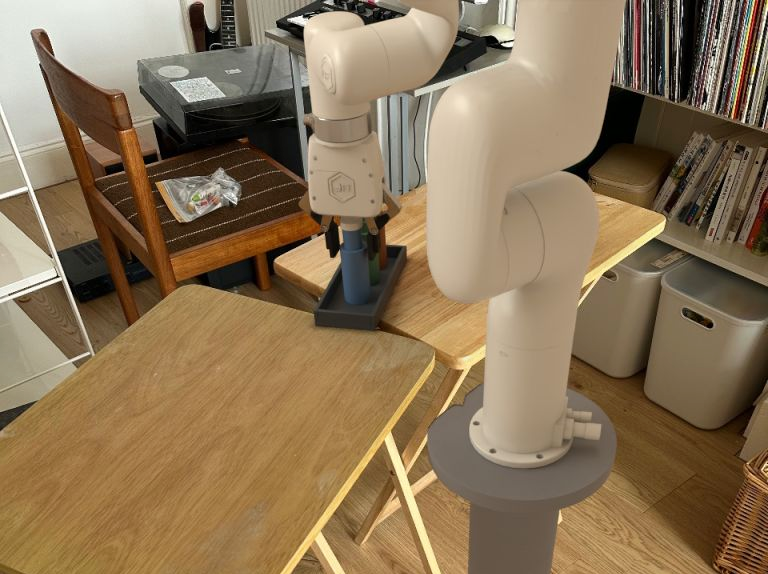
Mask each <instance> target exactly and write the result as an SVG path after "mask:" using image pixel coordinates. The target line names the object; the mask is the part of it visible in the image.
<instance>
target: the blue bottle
mask: <svg viewBox="0 0 768 574" xmlns="http://www.w3.org/2000/svg"><path fill="white" fill-rule="evenodd" d="M339 226H340V229H341V235H342V243H340V250H339V255H340V263H341V266H342V276H343V286H344V296H345V301H346V302H347V303H349V304H352V305H361V304H364V303H367V302H368V301H369V300H370V299H371V291H370V278H369V265H368V251H367V244H366V242H364V241H363V240H362V228H361V227H362V226H363V223H362V218H360V217H342V216H340V217H339Z"/></svg>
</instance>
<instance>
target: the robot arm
mask: <svg viewBox="0 0 768 574" xmlns="http://www.w3.org/2000/svg"><path fill="white" fill-rule="evenodd" d="M396 1H397V2H398V3H400V4H402V5H404V6H405V7H409V8H410V10H409V11H408V12H407V14H406V15H404V16H400V17H395V18H391V19H386V20H383V21H379V22H374V23H370V24H366V25H365V22H364V20H363V19H362V18H361V17H360V16H359V15H358V14H356V13H353V12H351V11H350V12H349V11H342V10H341V11H340V10H339V11H337V10H335V11H327V12H323V13H318V14H315V15H314V16H312V17H310V18H309V19H308V20H307V21H306V23H305V25H304V28H303V41H304V49H305V50H304V51H305V60H306V69H307V78H308V85H309V86H308V87H309V95H310V105H311V112H309V113H304V114H303V116H302V122H303V125H304V126H309V127H311V129H312V134H311V135H310V136H309V139H308V147H307V182H308V189H307V191H306V192H305V193H304V195H303V196H302V197H301V199H300V200H299V202H298V208H300V209H301V210H302V211H303V212H305V213H306V214H307V215H309V216H310V218H311V219H312V220H313V221H314V222H316V223H317V224H318V225H319V227H320V230H321V231H322V232H324V241H325V248H326V250H328V252H329V258H330V259H335V258H336V257H337V255H338V253H340V245H341V242H340V240H341V239H340V231H339V230H340V229H339V224H338V223H337V222H336V221H335V217H360V218H365V220H366V223H367V225H368V228H369V232H368V234H367V237H366V238H367V251H368V260H369V261H373V260H374V259H375V257H376V255H377V253H379V252H380V250H381V239H380V230H381V229H382V228H383V227H384V226H385V227H386V225H387V224H388V223H389V221H391V220H392V219H393V218H395V217H397V215H399V214H400V213H401V211H402V209H403V204H402V203H401V202H400V201H399V200H398V198H397V196H395V195H394V194H393V192H392V191H391V190H390V188H389V187H388V186H387V179H386V172H385V165H384V159H383V158H384V157H383V154H382V149H381V144H380V141H379V137H378V134H377V132H376V131H374V130H373V124H372V109H371V108H372V107H371V102H372V101H375V100H378V99H381V98H386V97H389V96H392V95H395V94H399V93H402V92H406V91H407V92H408V91H410V90H414V89H417V88H420V87H422V86H424V85H425V84H427V83H428V82H430V81H431V80H432V79H433V78H434V77H435V76H436V75H437V74H438V72H439V70H440V69H441V67H442V65H443V64H444V62H445V61H446V58H447V57H448V55H449V53H450V52H451V49H452V48H453V46H454V43H455V41H456V39H457V35H458V30H459V20H460V5H459V0H396ZM517 1H518V2H517V7H516V22H515V31H514V32H515V33H514V38H513V44H512V47H511V48H512V49H511V51H510V55H509V57H508V58H507V60H506V61H505V62H504V63H503V64H501V65H498V66H495V67H491V68H487V69H483V70H480V71H476V72H474V73H471V74H468V75H466V76H463V77H462V78H460V79H458V80H457V81H455V82H454V83H452V84H451V85H449V87H447V89H446V90H445V91H444V92H443V93H442V95H441V96H440V98H439V100H438V101H437V103H436V106H435V109H434V111H433V114H432V116H431V120H430V125H429V126H430V127H429V130H428V146H427V173H426V175H427V176H426V178H427V179H426V214H425V215H426V216H425V243H426V244H425V249H426V258H427V263H428V267H429V271H430V274H431V277H432V279H433V282H434V283H435V285H436V287H437V288H438V290H439V291H440V292H441V294H442V295H443V296H444V297H446V298H447V299H448V300H450V301H452V302H454V303H457V304H461V305H473V304H478V303H481V302H485V301H488V304H487V311H486V325H485V326H486V327H485V328H486V329H485V349H484V350H485V352H484V375H483V377H484V378H483V381H484V382H483V383H484V397H483V407H482V408H481V409H480V410H478V411H477V412H476V414H475V415H474V416H473V418H472V420H471V422H470V427H469V437H470V441H471V443H472V445H473V447H474V448H475V449H476V451H477V452H478V453H479V454H480V455H482V456H483V457H485V458H486V459H488V460H490V461H492V462H494V463H496V464H499V465H502V466H506V467H511V468H523V469H526V468H536V467H541V466H545V465H548V464H551V463H553V462H555V461H557V460H559V459H560V458H562V457H563V456H564V455H565V454H566V453H567V452H568V450H569V449H570V447H571V445H572V442H573V437H580V438H584V439H591V440H599V439H600V433H601V424H595V423H591V417H592V412H584V411H581V412H578V411H572V408H567V403H568V397H567V396H566V389H567V388H568V380H569V375H570V374H569V373H570V367H571V358H572V352H573V345H574V335H575V331H576V323H577V315H578V309H579V303H580V298H581V293H582V288H583V284H584V280H585V277H586V274H587V271H588V269H589V266H590V263H591V260H592V259H593V258H592V257H593V254H594V252H595V249H596V244H597V240H598V237H599V232H600V231H599V230H600V210H599V205H598V201H597V198H596V196H595V193H594V191H593V189H592V187H590V186H589V184H588V183H587V182H586V181H585V180H584V179H583V178H581V177H580V176H578V175H576V174H574V173H571V172H568V171H564V170H565V169H568V168H570V167H572V166H574V165H576V164H578V163H580V162H582V161H583V160H585V159H586V158H587V157H588V156H589V155H590V154H591V153H592V152H593V150H594V149H595V147H596V146H597V143H598V141H599V139H600V136H601V133H602V129H603V124H604V120H605V115H606V111H607V106H608V99H609V95H610V94H609V93H610V89H611V84H612V79H613V73H614V68H615V63H616V57H617V52H618V48H619V42H620V37H621V33H622V32H621V31H622V25H623V19H624V13H625V7H626V2H627V0H517ZM383 204H384V205H386V207H387V209H386V210H382V209H383ZM381 210H382V211H383V213H382V214H381V215H380V212H381ZM574 421H575V422H574ZM578 422H580V423H578Z"/></svg>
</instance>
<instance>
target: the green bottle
mask: <svg viewBox="0 0 768 574" xmlns="http://www.w3.org/2000/svg"><path fill="white" fill-rule="evenodd" d="M362 223H363V226H362V227H361V228H362V240H363V241H364V242H366V244H367V238H366V237H367V234H368V232H369V228H368V225H367V223H366V220H365V218H362ZM368 265H369V278H370V286H373V285H375V284H377V283H378V282H379V281H380V272H379V257H378V253H377V255H376V257H375V259H374V260H373V261H369V260H368Z"/></svg>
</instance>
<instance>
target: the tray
mask: <svg viewBox="0 0 768 574" xmlns="http://www.w3.org/2000/svg"><path fill="white" fill-rule="evenodd" d="M386 253H387V266H386V267H385V268H384V269H382V270H379V272H380V281H379V282H378V283H377V284H375V285H373V286H370V291H371V299H370V300H369V301H368V302H367V303H364V304H361V305H352V304H349V303H347V302H346V301H345V296H344V286H343V276H342V266H341V262H339V264H338V266H337V268H336V270H335V271H334V273H333V274H332V276H331V278H330V280H329V281H328V284H327V286H326V288H325V289H324V291H323V292H322V294H321V296H320V298H319V300H318V302H317V304H316V305H315V306H314V309H313V311H312V312H313V319H314V326H317V327H326V328H327V327H328V328H330V327H331V328H340V329H349V330H350V329H351V330H360V331H372V332H375V331H376V330H377V328H378V326H379V324H380V321H381V319H382V317H383V314H384V313H385V310H386V308H387V306H388V303H389V301H390V299H391V297H392V294H393V292H394V291H395V289H396V288H395V287H396V286H397V283H398V281H399V280H400V276H401V275H402V273H403V270H404V267H405V265H406V263H407V261H408V249H407V245H402V244H387V243H386Z"/></svg>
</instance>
